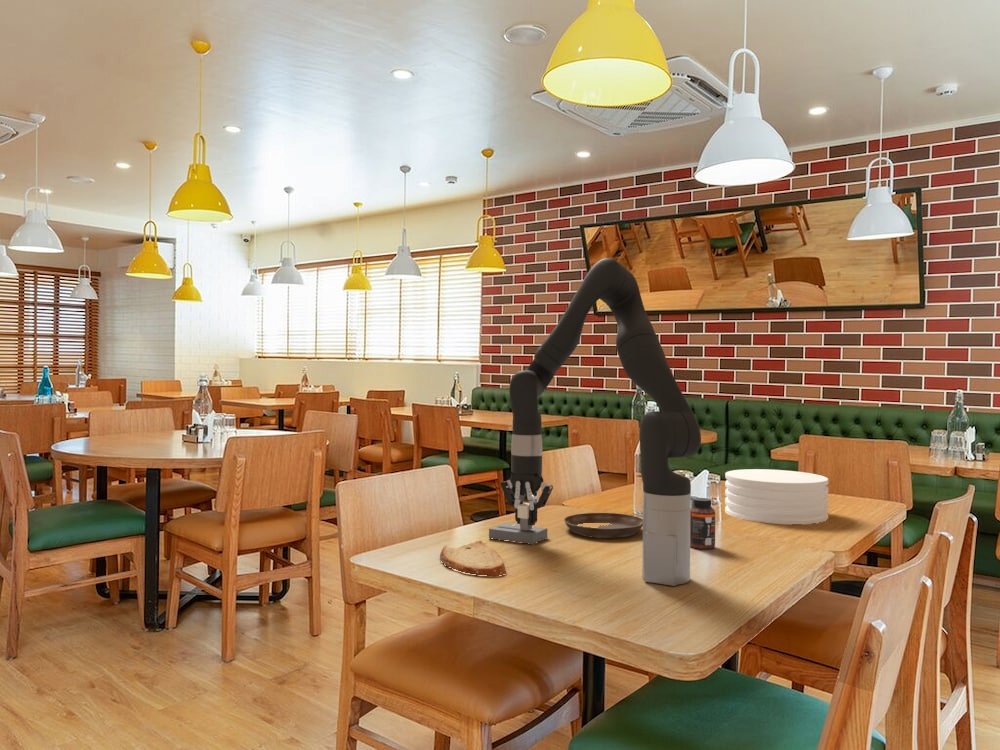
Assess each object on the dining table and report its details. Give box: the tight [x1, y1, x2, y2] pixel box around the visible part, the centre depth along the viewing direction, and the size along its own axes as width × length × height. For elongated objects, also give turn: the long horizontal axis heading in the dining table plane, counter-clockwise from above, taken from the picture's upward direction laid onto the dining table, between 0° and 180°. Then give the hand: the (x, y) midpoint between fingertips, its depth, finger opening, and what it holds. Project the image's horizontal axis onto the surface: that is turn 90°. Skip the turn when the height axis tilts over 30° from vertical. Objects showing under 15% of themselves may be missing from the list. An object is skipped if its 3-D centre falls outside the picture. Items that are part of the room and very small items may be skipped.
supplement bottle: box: [690, 497, 716, 550], centre depth 166 cm, size 6×6×11 cm
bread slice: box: [439, 540, 508, 576], centre depth 151 cm, size 18×18×4 cm
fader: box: [518, 502, 532, 531], centre depth 171 cm, size 4×3×6 cm, turn 151°
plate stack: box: [724, 468, 829, 525], centre depth 206 cm, size 28×28×12 cm
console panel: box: [488, 522, 548, 545], centre depth 173 cm, size 8×12×3 cm, turn 61°
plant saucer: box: [563, 512, 643, 539], centre depth 183 cm, size 21×21×3 cm
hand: (526, 523), depth 171 cm, fingers closed on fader, 2 cm apart
